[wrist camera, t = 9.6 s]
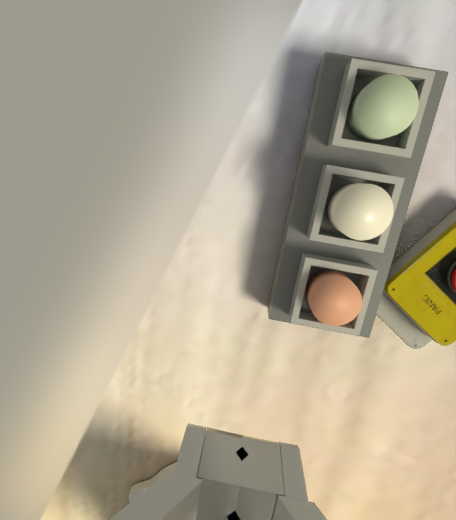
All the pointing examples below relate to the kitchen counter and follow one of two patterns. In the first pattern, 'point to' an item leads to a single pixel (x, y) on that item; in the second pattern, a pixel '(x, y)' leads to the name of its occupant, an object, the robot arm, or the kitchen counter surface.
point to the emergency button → (424, 288)
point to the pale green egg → (383, 108)
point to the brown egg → (333, 297)
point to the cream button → (360, 210)
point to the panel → (343, 173)
